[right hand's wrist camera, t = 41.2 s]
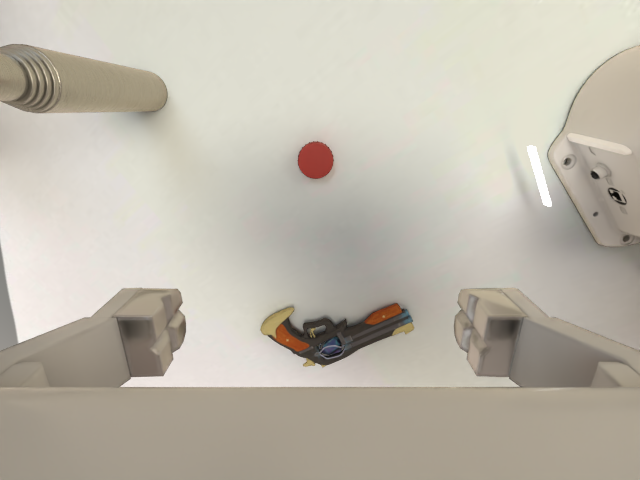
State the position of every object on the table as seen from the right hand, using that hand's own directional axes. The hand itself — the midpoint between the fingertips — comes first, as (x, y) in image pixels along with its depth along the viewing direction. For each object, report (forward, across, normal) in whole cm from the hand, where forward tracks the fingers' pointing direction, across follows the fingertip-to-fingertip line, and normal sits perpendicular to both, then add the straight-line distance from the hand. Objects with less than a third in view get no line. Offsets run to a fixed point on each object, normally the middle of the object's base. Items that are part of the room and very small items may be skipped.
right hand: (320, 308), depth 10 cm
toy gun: (+32, -2, +22) cm, 39 cm away
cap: (+30, 0, 0) cm, 31 cm away
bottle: (+32, +19, -7) cm, 38 cm away
